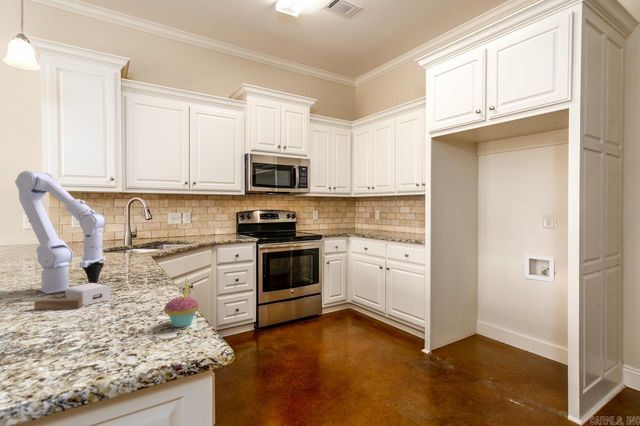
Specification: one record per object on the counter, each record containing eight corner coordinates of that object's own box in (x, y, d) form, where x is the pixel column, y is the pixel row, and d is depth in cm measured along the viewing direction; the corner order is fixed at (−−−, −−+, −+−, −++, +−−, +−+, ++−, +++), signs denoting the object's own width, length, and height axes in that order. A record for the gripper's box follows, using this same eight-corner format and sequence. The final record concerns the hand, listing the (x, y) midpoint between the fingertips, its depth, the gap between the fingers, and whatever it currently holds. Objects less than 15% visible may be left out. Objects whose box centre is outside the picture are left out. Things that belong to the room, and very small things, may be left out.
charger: (83, 293, 121) (111, 298, 114) (54, 299, 112) (82, 305, 106) (83, 280, 120) (111, 284, 114) (54, 285, 112) (82, 291, 106)
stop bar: (39, 307, 103) (39, 299, 103) (82, 306, 105) (82, 298, 105) (34, 310, 101) (34, 301, 101) (78, 308, 103) (78, 300, 103)
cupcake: (205, 320, 93) (205, 277, 92) (183, 331, 85) (183, 284, 84) (180, 317, 96) (180, 275, 95) (156, 327, 88) (156, 281, 87)
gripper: (95, 249, 117) (95, 287, 117) (113, 244, 131) (113, 278, 131) (72, 249, 115) (73, 288, 116) (94, 244, 130) (94, 279, 130)
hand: (93, 283), depth 124 cm, fingers closed
